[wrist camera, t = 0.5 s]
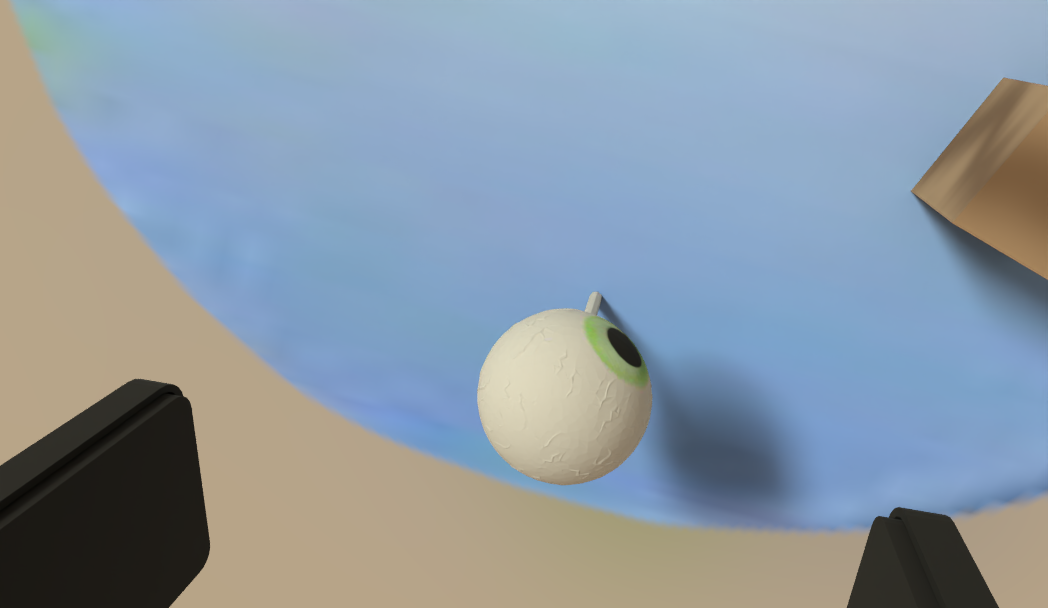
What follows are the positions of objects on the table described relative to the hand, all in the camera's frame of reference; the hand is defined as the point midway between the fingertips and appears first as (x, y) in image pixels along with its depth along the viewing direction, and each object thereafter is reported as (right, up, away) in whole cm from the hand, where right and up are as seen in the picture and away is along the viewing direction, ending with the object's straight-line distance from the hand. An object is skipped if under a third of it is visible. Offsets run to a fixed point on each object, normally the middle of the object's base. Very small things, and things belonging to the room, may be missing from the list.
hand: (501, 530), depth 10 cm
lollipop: (+4, +3, +30) cm, 31 cm away
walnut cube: (+23, +9, +24) cm, 34 cm away
